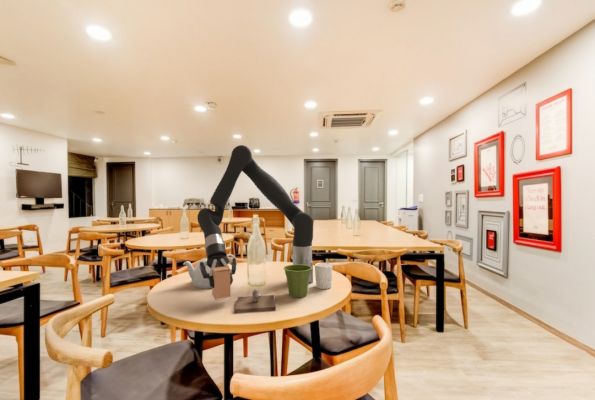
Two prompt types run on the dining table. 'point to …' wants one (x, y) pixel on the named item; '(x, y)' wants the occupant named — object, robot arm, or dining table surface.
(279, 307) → the dining table surface
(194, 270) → the teapot
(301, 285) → the plant pot
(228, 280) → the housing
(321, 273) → the white cup
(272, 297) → the plate
